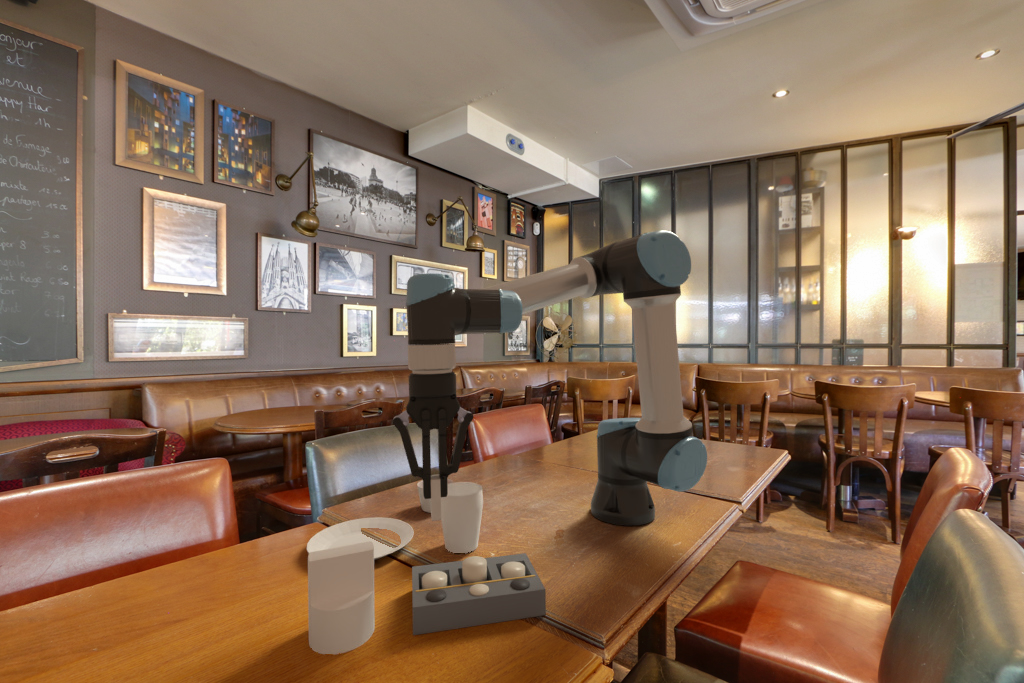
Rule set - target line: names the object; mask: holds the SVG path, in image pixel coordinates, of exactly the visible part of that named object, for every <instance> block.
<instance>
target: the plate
mask: <svg viewBox="0 0 1024 683" xmlns="http://www.w3.org/2000/svg"><path fill="white" fill-rule="evenodd" d="M361 528H379V529H387V530H391V531H393V532H395V533H397V534H398V535H399V536H400V539H401V544H400V545H399V546H398V547H396V548H392V547H389V546H387V545H385V544H382V543H380V542H378V541H376V540H374V539H372V538H370V537H367V536H366V535H364V534H362V532H361ZM414 532H415V531H414V528H413V527H412V525H410V524H409V523H408V522H405V521H403V520H400V519H397V518H393V517H381V516H380V517H378V516H377V517H363V518H356V519H355V518H354V519H351V520H346V521H343V522H339V523H336V524H334V525H331V526H328V527H326V528H324V529H322V530H321V531H319V532H317V533H315V535H313V536H312V537H311V538H310V539H309V540H308V542H307V543H306V551H307V554H309V553H310V552H314V551H320V550H325V549H331V548H336V547H342V546H348V545H353V544H359V543H364V542H370V541H371V542H372V543H373V545H374V561H376V560H379V559H381V558H384V557H386V556H389V555H390V554H393V553H396V551H398V550H401V549H403V548H404V547H405V546H406V545H408V544H409V543H410V542H411V540H412V539H413V537H414Z"/></svg>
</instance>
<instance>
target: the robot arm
mask: <svg viewBox="0 0 1024 683" xmlns="http://www.w3.org/2000/svg"><path fill="white" fill-rule="evenodd" d="M691 271H692V258H691V255H690V251H689V249H688V247H687V245H686V243H685V242H684V241H683V240H682V239H680V237H679V236H678V235H677V234H676V233H674V232H672V231H670V230H669V231H668V230H662V229H661V230H655V231H649V232H643V233H642V234H639V235H636V236H632V237H629V238H626V239H623V240H620V241H615V242H612V243H609V244H608V245H605V246H602V247H601V248H598V249H596V250H594V251H591V252H589V253H587V254H584V255H581V256H578V257H574V258H572V260H571V261H570V263H568V264H565V265H561V266H559V267H555V268H551V269H547V270H545V271H541V272H537V273H534V274H529V275H526V276H521V277H520V278H516V279H512V280H508V281H505V282H502V283H501V282H500V283H497V284H495V285H490V286H487V287H484V288H479V289H472V288H471V289H469V288H459V287H456V284H455V282H454V278H453V276H451V275H450V274H444V273H432V272H431V273H420V274H414V275H412V276H410V277H409V278H408V279H407V282H406V301H405V302H406V303H405V306H406V318H407V319H406V323H407V368H408V369H409V370H410V371H412V372H411V373H410V374H409V375H408V402H407V404H406V407H405V408H406V409H405V410H404V411H402V412H401V413H400V414H397V415H395V416H393V419H392V424H393V426H394V427H395V428H396V429H397V431H398V432H399V434H400V437H401V441H402V445H403V447H404V451H405V456H406V458H407V463H408V465H409V469H410V470H409V471H410V474H411V476H412V477H415V478H416V477H417V478H421V479H422V480H423V494H424V498H425V499H431V513H430V517H431V518H430V519H431V521H432V522H435V521H441V497H447V494H448V486H447V479H449V478H448V477H449V476H451V475H453V474H457V473H458V472H459V469H460V464H461V460H462V455H463V451H464V445H465V441H466V436H467V431H468V427H469V426H470V424H471V423H472V421H473V419H474V415H473V413H472V412H471V411H469V410H466V409H464V408H463V407H461V404H460V402H459V399H458V397H457V373H455V371H454V369H455V368H456V366H457V365H456V362H457V360H456V358H457V356H456V336H459V335H476V334H477V335H479V334H480V335H482V334H499V335H501V334H505V333H506V334H507V333H513V332H515V331H517V330H518V329H519V327H520V326H521V323H522V320H523V315H525V314H528V313H532V312H534V311H539V310H541V309H543V308H547V307H550V306H554V305H556V304H560V303H563V302H566V301H569V300H572V299H576V298H578V297H579V298H581V299H586V300H587V299H590V298H592V297H596V296H597V297H598V296H603V295H612V294H622V296H623V302H624V303H625V304H626V305H628V306H629V307H630V308H631V312H632V313H631V314H632V323H633V324H632V325H633V336H634V346H635V347H634V348H635V357H636V360H635V361H636V367H637V379H638V390H639V402H640V412H641V414H640V415H641V417H624V418H623V417H622V418H621V417H619V418H608V419H603V420H601V421H600V422H599V423H598V425H597V433H596V434H597V435H596V444H597V445H596V447H597V448H596V449H597V451H596V452H597V453H596V454H597V455H596V456H597V482H596V485H595V488H594V491H593V495H592V498H591V501H590V513H591V515H592V516H593V517H594V518H595V519H597V520H599V521H602V522H604V523H607V524H610V525H611V524H612V525H617V526H625V527H626V526H628V527H631V526H635V527H636V526H642V525H647V524H649V523H651V522H653V521H654V520H655V518H656V508H655V507H656V506H655V504H654V500H653V497H652V494H651V492H650V488H649V485H648V483H651V484H654V485H655V486H658V487H661V488H662V489H664V490H671V491H674V492H679V493H680V492H681V493H682V492H687V491H689V490H691V489H693V488H694V487H695V486H696V485H697V484H699V482H701V481H700V480H701V478H702V477H703V475H704V474H705V471H706V468H707V464H708V450H707V447H706V445H705V444H704V443H703V441H702V440H701V439H700V438H697V437H696V436H694V431H693V423H692V421H690V420H689V419H688V418H686V417H685V416H684V405H683V404H684V403H683V393H682V383H681V372H680V371H681V370H680V358H679V347H678V345H679V344H678V336H677V334H678V333H677V325H676V322H677V321H676V315H675V314H676V312H675V311H676V310H675V304H676V301H678V299H679V298H680V296H682V292H681V290H682V289H681V286H682V285H683V284H685V282H686V281H688V279H689V275H691ZM456 415H457V421H458V425H457V430H456V434H455V438H454V444H453V449H452V451H451V452H452V453H451V457H450V462H449V464H448V449H447V448H448V447H447V444H448V442H447V441H448V440H447V428H448V427H449V426H450V424H451V423H452V422H453V419H455V417H456ZM409 417H410V418H411V419H412V421H413V422H414V424H415V425H416V426H417V427H418V428H419V429H420V430H421V451H422V452H421V453H422V454H421V456H422V467H421V466H419V463H418V459H417V456H416V452H415V448H414V446H413V442H412V438H411V435H410V430H409V429H408V426H409V424H410V422H409ZM431 430H437V448H438V450H437V451H438V452H437V454H438V474H432V464H431V463H432V460H431V458H432V456H431Z"/></svg>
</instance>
